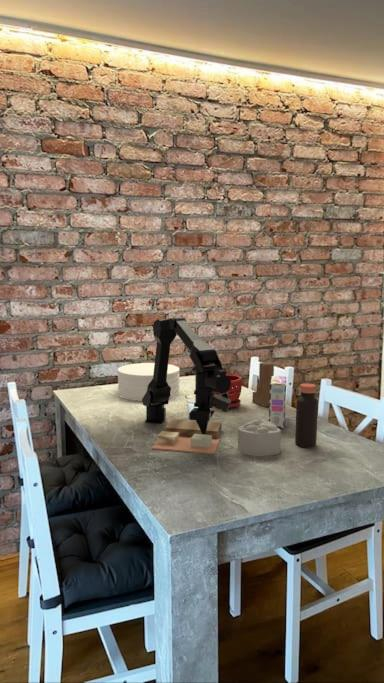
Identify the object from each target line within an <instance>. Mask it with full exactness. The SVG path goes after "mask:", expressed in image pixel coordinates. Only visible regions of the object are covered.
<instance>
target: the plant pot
mask: <svg viewBox="0 0 384 683" xmlns="http://www.w3.org/2000/svg"><path fill="white" fill-rule="evenodd" d="M226 375H227V376H228V377H229V378H230V381H231V386H230V389H229V390H228V391H227V392H226V393H228V394H229V399H230V400H231V403H230V405H229V408H235V407H238V406H239V405H240V404H241V403H242V402H241V401H242V400H241V399H239V398H240V397H241V394H242V386H243V383H242V382H243V381H242V380H243V379H242V377H241V376H239V375H236V374H226ZM215 394H218V395H219V394H220V395H222V394H223V393H219V392H216V391H215ZM229 408H228V409H229Z"/></svg>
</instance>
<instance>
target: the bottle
mask: <svg viewBox="0 0 384 683" xmlns="http://www.w3.org/2000/svg"><path fill="white" fill-rule="evenodd" d="M299 387H300V388H299V391H300V392H299V393H300V396H299V397H297V399H296V409H295V412H296V413H295V431H294V432H295V434H294V436H295V438H294V444H295V445H296V446H298V447H300V448H306V449H309V448H310V449H311V448H315V447H316V446H317V439H318V438H317V436H318V417H319V416H318V411H319V401H318V399H317V398H316V396H315V395H316V391H317V390H316V388H317V386H316V384H313V383H301V384H299Z"/></svg>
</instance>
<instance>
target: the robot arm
mask: <svg viewBox="0 0 384 683" xmlns="http://www.w3.org/2000/svg"><path fill="white" fill-rule="evenodd" d="M152 330H153V331H152V332H153V336H154V339H155V341H156V347H155V355H154V356H155V358H154V363H155V365H154V374H153V379H152V381H151V382H150V383H149V385H148V388H147V392H146V394H145V395H144V397H143V398H142V401H141V403H142V405H143V406H144V407H145V409H146V410H145V412H146V414H145V415H146V417H145V418H146V419H145V420H144V423H155V424H162V423H163V422H165V420H166V419H167V408H166V407H165V405H169V401H170V399H169V397H170V391H171V387H170V386H169V385H168V383H167V381H166V379H167V370H168V364H169V361H170V351H171V345H172V343H173V341H174V340H175V339H176V337H177V336H178V338H179V339H180V340H181V341H182V342H183V344H184V345H185V346H186V347H187V350H188V351H189V359H191V361H192V363H193V365H194V367H193V368H191V371H192V372H195V373H194V374H195V376H194V378H195V379H194V381H195V382H194V383H195V388H194V390H193V394H194V395H195V396H194V397H195V398H194V401H195V402H194V403H193V408H192V409H191V410H190V412H189V414H188V420H195V421H196V422H197V424H198V426H199V428H200V430H201V432H202V434H206V430H207V426H208V422H210V420H211V418H212V417H213V415H214V414H215V410H212V409H213V408H216V409H219V410H221V411H222V412H224V413H226V412H228V410H229V405H230V403H231V400H230V399H229V394H228V393H226V392H227V391H228V390H229V389H230V386H231V381H230V378H229V377H228V376H227V375H228V374H227V372H226V370H223V369H224V367H223V366H222V364H223V363H222V361H221V360H220V358H219V355H218V353H217V351H216V349H215V348H214V347H213V346H212V345H211V344H210V343H208V342H204V341H202V339H200V337H199V336H198V334H196V332H195V331H194V329H192V327H191V326H190V325H189V323H188V322H187V319H186V317H184V316H175V317H173V316H172V317H171V318H158V319H156V320H154V322H153V324H152ZM215 391H216V392H219V393H223V394H222V395H220V394H219V395H218V394H215Z"/></svg>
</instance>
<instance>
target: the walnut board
mask: <svg viewBox="0 0 384 683" xmlns="http://www.w3.org/2000/svg"><path fill="white" fill-rule="evenodd" d="M222 424H223V423H222V422H221V421H209V422H208V426H207V430H206V434H203V435H212V439H219V436H220V435H221V432H222V426H223V425H222ZM164 431H167V432H178V433H179V436H184V437H192V436H193V435H194V434H202V432H201V430H200V428H199V426H198V424H197V422H196V420H190V419H177V418H172V419H171V420H170V421H169V423H168V424H167V425H166V426H165V430H164Z"/></svg>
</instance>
